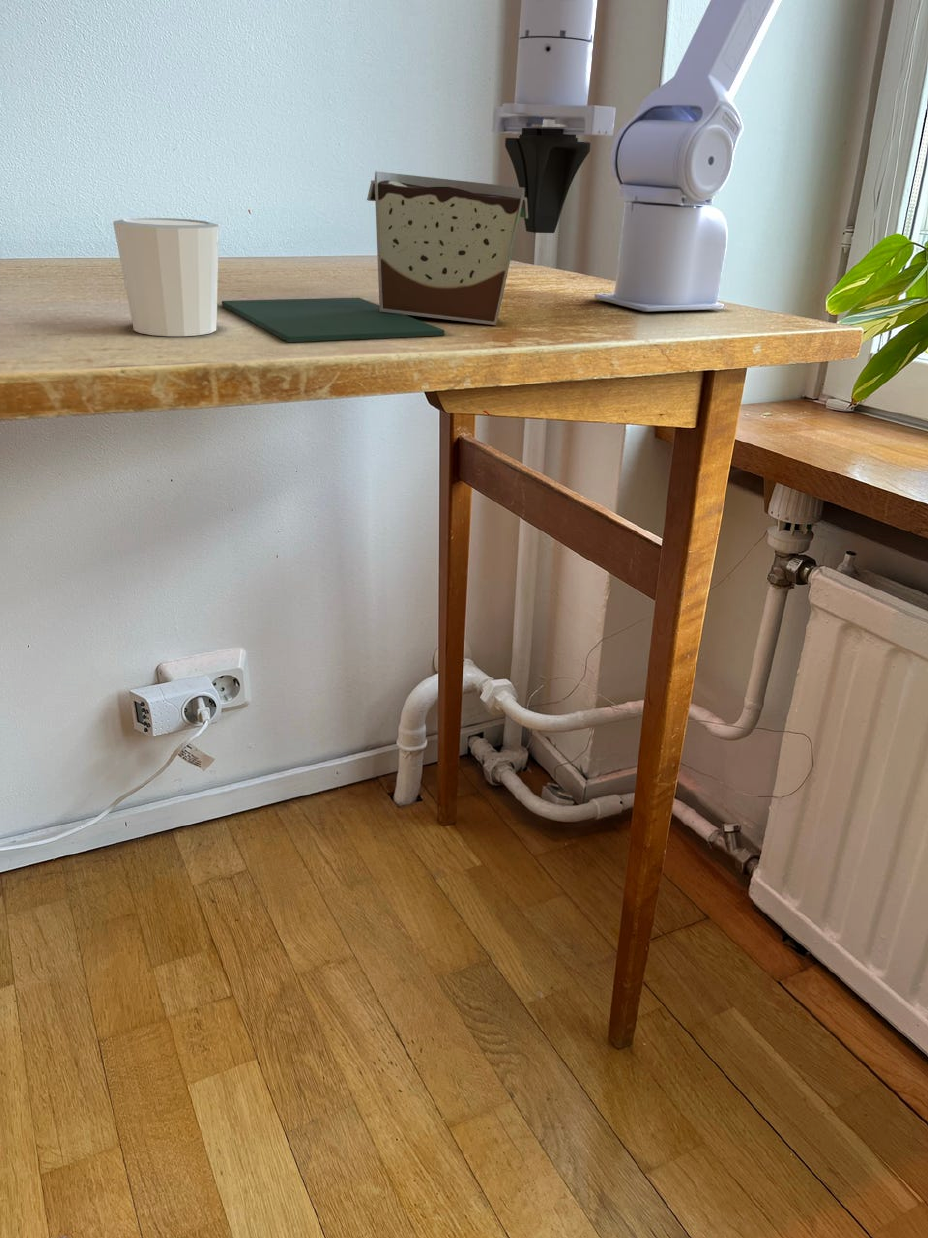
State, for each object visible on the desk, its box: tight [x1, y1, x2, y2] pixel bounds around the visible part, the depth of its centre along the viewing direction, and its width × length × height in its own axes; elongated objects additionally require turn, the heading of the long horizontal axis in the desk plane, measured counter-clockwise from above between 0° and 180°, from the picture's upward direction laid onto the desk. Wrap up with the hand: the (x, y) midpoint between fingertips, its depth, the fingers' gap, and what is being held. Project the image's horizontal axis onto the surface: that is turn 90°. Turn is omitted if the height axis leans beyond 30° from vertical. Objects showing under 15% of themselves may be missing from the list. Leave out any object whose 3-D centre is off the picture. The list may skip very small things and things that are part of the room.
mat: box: [221, 297, 445, 343], centre depth 73 cm, size 12×16×1 cm
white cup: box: [112, 217, 220, 337], centre depth 65 cm, size 7×7×7 cm
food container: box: [366, 170, 528, 326], centre depth 75 cm, size 12×6×10 cm, turn 84°
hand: (540, 232), depth 79 cm, fingers closed
